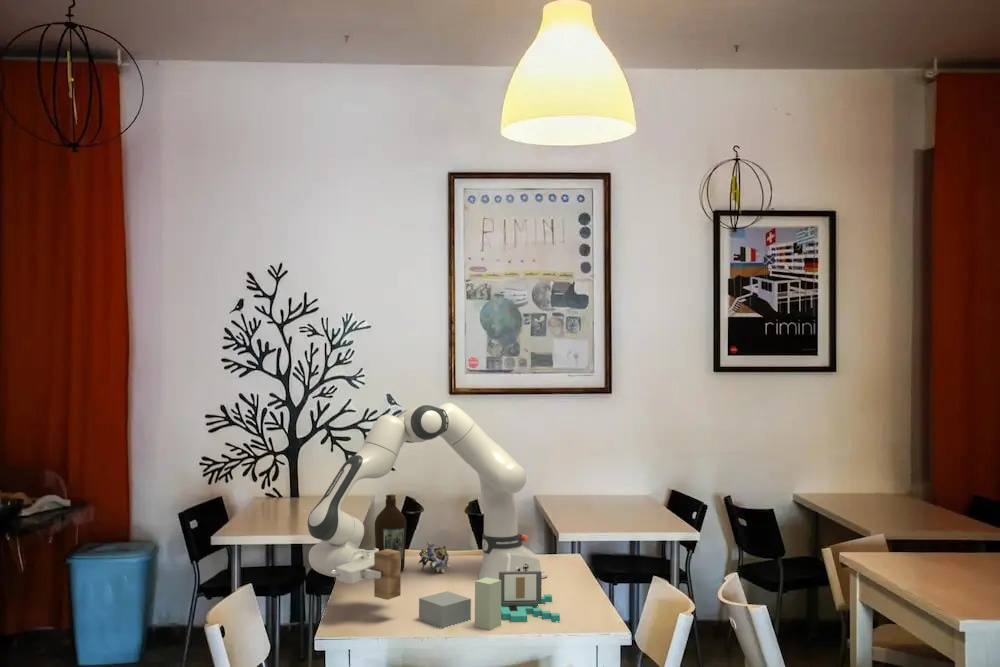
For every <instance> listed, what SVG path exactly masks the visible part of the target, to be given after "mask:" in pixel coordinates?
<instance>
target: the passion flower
mask: <svg viewBox="0 0 1000 667" xmlns="http://www.w3.org/2000/svg"><path fill="white" fill-rule="evenodd" d="M426 543H427V547H426V549H421V551H420V552H419V556H420V558H421V559H420V560H418V564H421V563H422V564H421V566H422V567H421V568H422V569H424V567H425V566H426V565H427V563H428V562H429V567H430V568H433V569H434V571H435V572H436V573H439V572H440V574H445V567H446V568H450V565H449V559H450V558H449V557H450V554H449V553H448V551H447V549H446V547H447V546H445V545H444V546H442V545H438V544H437V543H436V542H435V543H433V544H432V543H431V542H430V541H427V542H426Z"/></svg>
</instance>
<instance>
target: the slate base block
mask: <svg viewBox="0 0 1000 667" xmlns="http://www.w3.org/2000/svg"><path fill="white" fill-rule="evenodd" d="M471 608H472V599H471V598H470V597H467V596H463V595H460V594H457V593H453V592H451V591H447V590H446V591H442V592H439V593H435V594H431V595H428V596H423V597H419V598H418V620H419V619H421V620H423V621H422V622H424V621H426V622H425V623H427V622H429V623H431V624H430V625H432V624H433V625H432V626H435V625H436V626H435V627H437V626H439V627H438V628H440V627H441V629H445V627H446V628H449V627H451V625H453V626H455V624H456V625H459V624H462V622H463V623H466V622H469V621H468V620H470V621H471V620H472V618H471V617H472V616H471V615H472V609H471ZM421 620H420V621H421ZM465 621H466V622H465ZM429 623H428V624H429ZM458 623H459V624H458ZM448 626H449V627H448Z"/></svg>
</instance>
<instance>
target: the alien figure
mask: <svg viewBox="0 0 1000 667" xmlns="http://www.w3.org/2000/svg"><path fill="white" fill-rule="evenodd" d="M545 602H552V603H553V595H552V594H543V596H541V604H545V605H546V603H545ZM537 606H538V607H537ZM527 614H533V615H532V616H533V618H539V617H538V616H542V617H541V619H542V618H543V619H551V620H550V621H552V622H551V623H560V622H561V614H560V613H559V612H551V610H543V609H542V608H541V607H540V608H539V605H522V606H503V605H501V617H502V618H501V621H510V623H511V622H527V623H528V615H527ZM543 619H542V620H543ZM556 621H558V622H556ZM559 621H560V622H559Z"/></svg>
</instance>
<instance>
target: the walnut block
mask: <svg viewBox="0 0 1000 667" xmlns="http://www.w3.org/2000/svg"><path fill="white" fill-rule="evenodd" d="M378 570H380V571H383V577H382V578H380V579H377V578H373V579H374V580H373V581H374V598H377V599H378V598H379V599H383V600H387V601H389V600H391V599H395V598H397V597H400V596H401V592H402V591H401V581H402V580H401V574H402V573H401V572H400V551H395V550H390V549H385V550H382V551H378V552H375V553H374V571H378Z"/></svg>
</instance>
